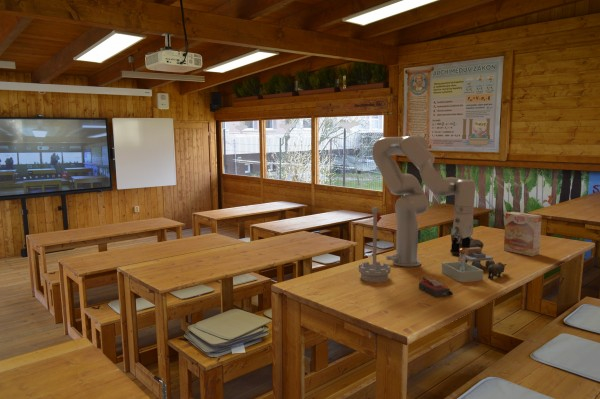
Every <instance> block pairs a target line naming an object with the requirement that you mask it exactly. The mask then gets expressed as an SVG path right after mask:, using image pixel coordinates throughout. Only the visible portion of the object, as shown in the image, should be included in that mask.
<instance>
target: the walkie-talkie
mask: <svg viewBox="0 0 600 399" xmlns="http://www.w3.org/2000/svg"><path fill="white" fill-rule="evenodd" d="M421 279H422V281H419V282H418V289H419V291H422V292H424V293H427V294H428V295H430V296H431V297H434V298H436V299H437V298H444V297H450V296H451V295H452V296H453V294H454V293H453V291H451V289H450V288H448V287H446V286H444V284H443V283H441V282H439V281H437V280H435V279H433V278H431V277H430V278H426V277H421Z"/></svg>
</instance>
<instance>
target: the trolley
mask: <svg viewBox="0 0 600 399" xmlns="http://www.w3.org/2000/svg"><path fill="white" fill-rule="evenodd" d="M466 249H468V252H466V260H465V262H466V263H468V261H469V262H471V265H472V266H475V267H477V268H479V269H481V270H482V263H481V262H483V261H485V268H486V269H487V270H488V267H489V266H490V265H494V264H496V262H495V261H494V257H493V256H491V255H488V254H486V253H485V252H483V248H480V247H472V248H466ZM459 258H460V255H458V261H457V262H459Z"/></svg>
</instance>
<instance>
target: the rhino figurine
mask: <svg viewBox="0 0 600 399" xmlns="http://www.w3.org/2000/svg"><path fill="white" fill-rule="evenodd" d="M507 265H508V264H507V263H505V264H504V263H502V262H500V261H499V262H497V263H496V262H495V264H494V265H490V266H489V267H488V269H487V273H488V276H487V279H490V281H495V279H494V277H498V278H502V276H501V274H502V273H504V272H505V268H506V267H505V266H507Z"/></svg>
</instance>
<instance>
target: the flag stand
mask: <svg viewBox="0 0 600 399" xmlns="http://www.w3.org/2000/svg"><path fill="white" fill-rule="evenodd" d="M379 212H380V209H379V208H378V206H374V207H372V208H371V213H372V214H373V216H372V224H373V226H372V263H370V262H369V261H363V262H362V263H359V264H358V272H359V274H360V279H362V280H363V281H366V282H370V283H381V282H386V281H387V280H388V278H389V274H390V273H391V265H389V263H387V262H383V264H381V262H380V261H377V251H378V250H377V249H378V248H377V247H378V246H377V245H378V244H377V242H378V240H377V239H378V237H377V236H378V235H377V234H378V223H379V221H380V220H381V219H382V216H381V215H379Z"/></svg>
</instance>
